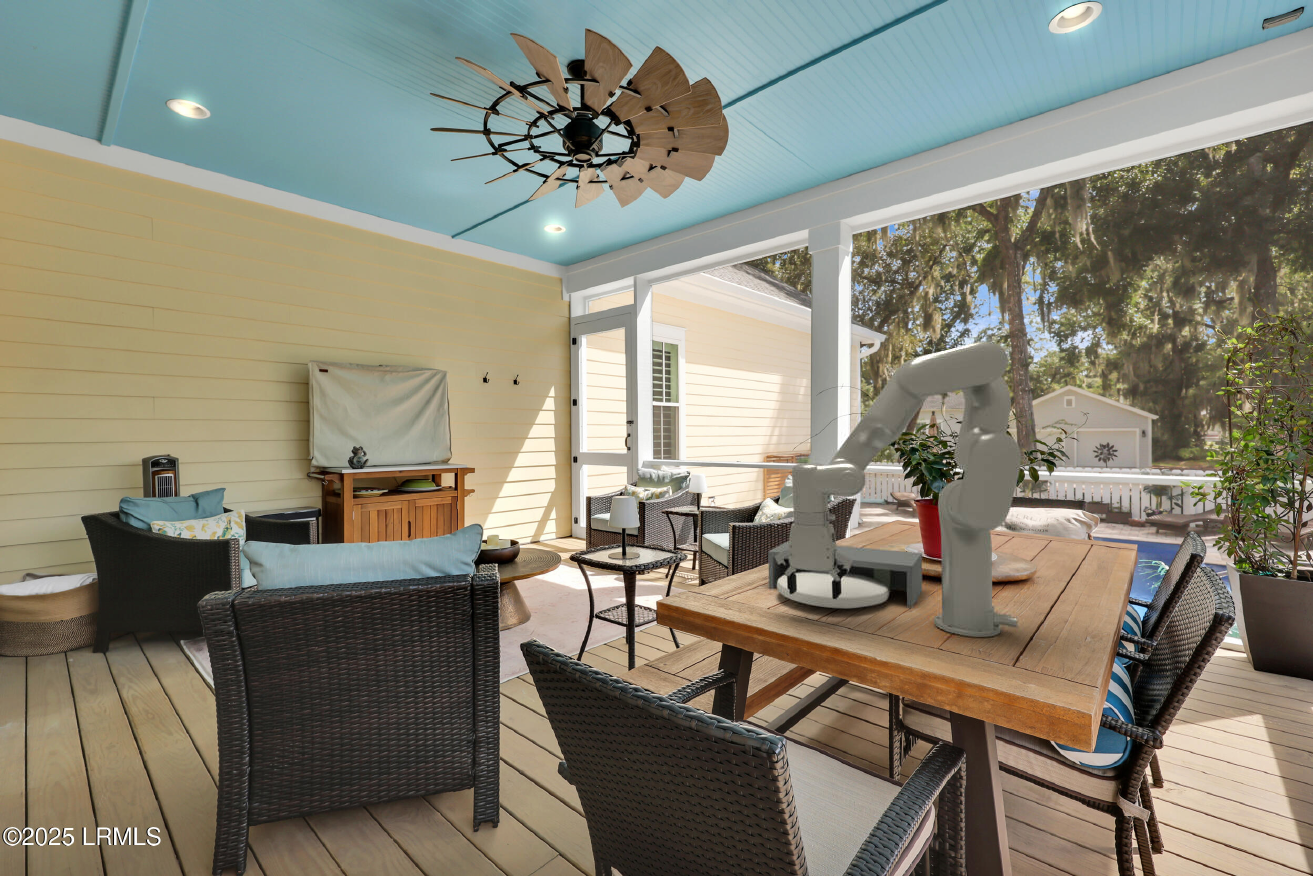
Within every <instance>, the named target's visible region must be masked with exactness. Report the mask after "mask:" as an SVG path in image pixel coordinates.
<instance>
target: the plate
mask: <svg viewBox="0 0 1313 876" xmlns="http://www.w3.org/2000/svg"><path fill="white" fill-rule="evenodd" d="M794 574H796V581H797V591H796V592H795V593H793V594H790V593H789V589H788V588H787V576H786V575H784V576H782V577H780V578H779V579H778V581H777V586H776V588H777V591H778V592H779V594H781V595H782V596H783V597H785V598H787V599H789V600H792V601H794V602H798V603H802V604H805V605H810V606H816V607H822V608H829V609H830V608H832V609H858V608H864V607H865V608H866V607H871V606H876V605H880V604H882V603H884V602H887V600H888V598H889V596H890V592H889V591H888V587H887V586H886V585H885V584H883V583H882V582H880V581H878V580H876V579H873V578H870V577H867V576H863V575H858V574H853V573H847V574H846V575H844V576H843V577H842V578H841V595H839V597H838V598H837V599H833V598H832V581H833V577H832V576H831V575H830V574H829V572H828V571H827V572H825V571H802V572H795V573H794Z"/></svg>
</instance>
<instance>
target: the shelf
mask: <svg viewBox="0 0 1313 876" xmlns="http://www.w3.org/2000/svg"><path fill="white" fill-rule="evenodd" d="M787 549H789V540H788V541H786V542H783V543H782V544H780V545H779V546H778V545H777V546H776V547H774V548H773V549H770V550H769V551H768V552H767V554H768V589H775V588H777V581H778V579H779V578H780V577H782V576H784V575H785V573H784V572H783V571H782V570H781V569H780V567H779V564H778V563H777V561H776V559H775V555H777V554H779V553H781V552H783V551H785V550H787ZM837 552H839V553H841V554H842V555H844V556H846V557H848V558H849V559H851V560H852V561H853V564H852V566H851V568H850V569H849V572H848V573H853V574H858V575H863V576H867V577H870V578H873V579H876V580H878V581H880V582H882V583H883V584H885V585H886V586H887V587H888V591H889V593H891V592H892V591H893V590H897V589H902V590H901V591H905V590H907V591H906V607H907V608H910V607H913V608H914V606H915V605H916V603H917V601H918V600H919V598H920V595H921V594H922V592H923V559H922V558H923V553H921V552H912V551H900V550H891V549H880V548H869V547H867V548H866V547H857V546H856V547H855V546H848V545H847V546H845V545H837ZM783 559H784V562H785V563H786V564H787V565H788V566H789V567H790V564H789V555H788V556H786V557H784V558H783ZM836 567H837V568H838V570H839V571H841V570H842V569H843V567H844V563H842V562H841V561H839V560H838V565H837V566H836ZM802 571H812V570H801V569H796V570H795V571H794V573H795V572H802ZM891 590H892V591H891ZM890 591H891V592H890ZM920 593H921V594H920ZM918 597H919V598H918ZM915 602H916V603H915ZM914 604H915V605H914Z"/></svg>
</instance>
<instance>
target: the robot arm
mask: <svg viewBox="0 0 1313 876" xmlns="http://www.w3.org/2000/svg"><path fill="white" fill-rule="evenodd" d="M1008 357H1009V356H1008V355H1007V352H1006V350H1005V349H1004V348H1003V346H1001V345H1000V344H998V343H995V342H993V341H988V340H985V341H984V340H981V341H977V342H973V343H968V344H966V345H961V346H956V347H953V348H950V349H946V350H942V351H937V352H934V353H928V354H923V355H920V356H917V357H914V358H911V359H909V360H906V361H905V362H903V363H901V365H900V366H898V368H897V369H896V370H895V372H894V373H893V374H892V376H891V377H890V379H889V380H888V382H887V383H886V384H885V386H884V387H883V389H882V390H881V392H880V393H879V394H878V396H877V398H875V400H874V402H872V404H871V405H870V407H869V409H868V410H867V411H866V413H865V414H864V415H863V417H861V419H860V421H859V422H858V424H857V425H856V426H855V427H854V429H853V430H852V432H850V434H849V436H848V437H847V438H846V439H845V440H844V442H843V443H842V445H841V446H840V447H839V449H838V450H837V452H836V453H835V454H834V456H833V457H832V459H831V460H830V461H829V463H828V464H822V463H818V462H813V463H812V462H810V463H809V462H807V463H806V462H805V463H797V464H794V466H793V467H792V468H791V469H792V470H791V481H792V485H791V487H792V505H793V506H792V509H793V523H792V524H791V526H790V531H789V539H788V541H789V549H787V550H785V551H783V552H781V553H779V554H777V555H775V559H776V561H777V563H778V564H779V567H780V569H781V570H782V571H783V572H784V573H785V575H786V576H787V588H788V589H789V593H790V594H793V593H795V592H796V591H797V581H796V574H794V571H795V570H796V569H801V570H812V571H825V572H827V571H828V572H829V574H830V575H831V576H832V577H833V581H832V598H833V599H837V598H838V597H839V595H841V578H842V577H843V576H844V575H846V574H847V573H848V572H849V569H850V568H851V566H852V564H853V561H852V560H851V559H849V558H848V557H846V556H844V555H842V554H841V553H839V552H837V546H838V545H837V538H836V532H835V530H834V529H835V528H834V525H833V524H831V523H830V522H832V521H835V520H836V514H832V513H830V510H829V500H828V496H836V497H844V498H845V497H846V498H850V497H853V496H856V495H858V494H859V493H861V492H862V491H863V490H864V488H865V485H866V481H867V480H866V474H865V470H866V469H867V467H868V466H870V464H871V462H872V461H873V460H874V458H875V457H876V456H878V454H879V453H880V452H881V451H882V450H883V449H884V448H886V447H887V446H890V444H892V443H894V442H895V441H896V440H897V439H898V438H899V437H900V436H901V435H902V434H903V432H904V431H905V429H906V428H907V426H908V425H909V424H910V422H911V421H912V420H913V418H914V417H915V415H916V413H918V411H919V409H920V408H921V407H923V404H924V403H925V401H926V400H927V399H928V398H929V397H933V396H938V395H943V394H947V393H953V392H958V391H960V390H961V393H962V395H963V398H964V409H963V415H962V416H963V417H962V420H961V422H960V423H961V424H960V428H959V432H958V435H957V440H956V444H955V447H954V451H953V452H954V453H953V455H954V456H953V458H954V461H955V463H956V464H957V466H958V468H960V469H961V470H962V471H964V472H963V473H964V474H963V478H962V479H957V480H953V481H950V482H949V483H947V484H946V485H945V486H944V487H943V488H942V489H941V491H940V493H939V497H938V502H937V507H938V508H937V509H938V516H939V525H940V538H941V539H940V541H941V613H940V614H937V615H935V616H934V618H933V623H934V625H935V627H939V628H938V629H941V630H942V629H943V631H944V632H948V633H950V632H951V634H954V633H955V634H956V635H958V634H959V636H965V637H971V638H972V637H973V638H987V637H994V636H997V635H999V634H1000V633H1001V632H1002V631H1001V629H1002V628H1001V627H1002V626H1007V627H1010V628H1011V627H1012V628H1018V617H1015V616H1014V617H1013V616H1011V614H1006V613H1005V614H1003V613H998V612H997V611H995V606H994V605H993V567H992V566H993V547H992V546H993V545H992V535H991V531H994V530H996V529H998V528H999V527H1000V526H1002V525H1003V524H1004V523H1005V522H1006V519H1007V517H1008V515H1009V513H1010V510H1011V507H1012V503H1013V498H1014V495H1015V491H1016V487H1017V483H1018V479H1019V475H1020V474H1019V473H1020V470H1021V465H1022V464H1021V463H1022V454H1021V448H1020V447H1019V444H1018V442H1017V441H1016V440H1015V438H1013V437H1012V436H1011V435H1009V434H1007V431H1008V427H1009V419H1010V414H1011V407H1012V399H1011V398H1012V397H1011V393H1010V390H1009V387H1008V385H1007V383H1006V381H1005V380H1004V378H1003V377H1002V376H1004V374H1005V372H1006V371H1007V368H1008V363H1009V358H1008ZM788 555H789V564H790V567H789V566H788V565H787V564H786V563H785V562H784V559H783V558H784V557H786V556H788ZM838 560H839V561H841V562H842V563H844V567H843V569H842V570H841V571H839V570H838V568H837V567H836V566H837V565H838Z"/></svg>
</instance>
